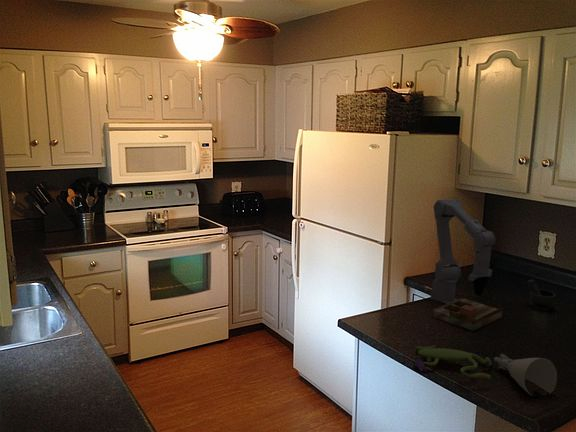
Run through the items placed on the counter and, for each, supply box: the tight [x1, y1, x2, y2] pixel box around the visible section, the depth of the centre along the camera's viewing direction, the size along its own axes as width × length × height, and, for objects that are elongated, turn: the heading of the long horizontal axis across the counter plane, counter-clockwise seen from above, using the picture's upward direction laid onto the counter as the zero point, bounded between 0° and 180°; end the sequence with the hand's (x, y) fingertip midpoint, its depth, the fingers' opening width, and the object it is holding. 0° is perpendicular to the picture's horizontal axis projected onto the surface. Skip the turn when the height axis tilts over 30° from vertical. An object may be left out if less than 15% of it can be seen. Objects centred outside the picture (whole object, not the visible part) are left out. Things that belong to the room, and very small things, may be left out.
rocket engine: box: [493, 353, 558, 397], centre depth 160 cm, size 12×12×18 cm
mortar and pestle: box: [527, 278, 557, 312], centre depth 219 cm, size 11×9×12 cm
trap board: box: [431, 297, 504, 332], centre depth 208 cm, size 18×22×5 cm
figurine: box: [414, 344, 493, 380], centre depth 167 cm, size 18×27×6 cm
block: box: [459, 305, 477, 319], centre depth 199 cm, size 4×4×4 cm
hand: (478, 294), depth 207 cm, fingers closed
